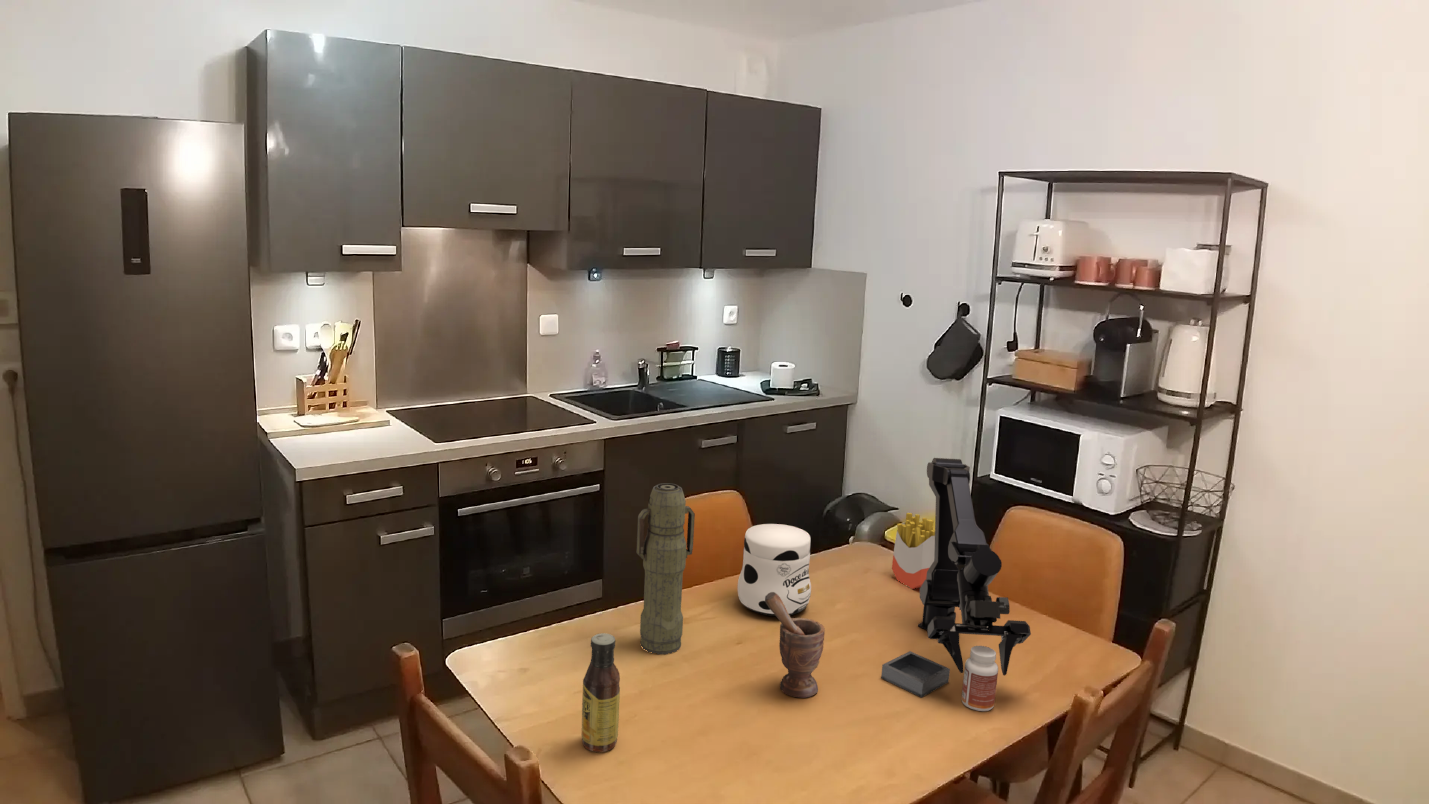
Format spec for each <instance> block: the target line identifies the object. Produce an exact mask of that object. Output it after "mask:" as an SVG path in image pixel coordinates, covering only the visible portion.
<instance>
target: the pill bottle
mask: <svg viewBox="0 0 1429 804" xmlns="http://www.w3.org/2000/svg"><path fill="white" fill-rule="evenodd" d="M996 659H997V652H996V651H995V649H993V648H991V647H989V646H984V645H973V646H971V648H970V654H969V657H968V658H967V659H966V660H965V662H964V669H963V681H962V689H961V690H962V692H961V702H962V704H963V705H964V706H965V707H967V708H969V709H971V710H973V711H978V712H988V711H990V710H992V709H993V708H994V706H995V700H996V693H997V685H998V684H997V683H998V675H999V665H998V664H997V663H996Z"/></svg>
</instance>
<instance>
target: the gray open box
mask: <svg viewBox="0 0 1429 804" xmlns="http://www.w3.org/2000/svg"><path fill="white" fill-rule="evenodd" d="M950 671H951V668H949V667H947V666H946V665H945V666H944V665H942V664H940V663H938V662H936V661H933V660H931V659H929V658H927V657H925V656H922V655H920V654H917V653H916V652H913V651H911V650H909V651H907V652H905V653H903V654H902V655H899V656H897V657H895V658H893V659H891V660H889V661H887V662H885V663H883V664H882V666H881V676H880V679H882V680H884V681H886V682H888V683H890V684H892V685H894V686H896V687H899V688H901V689H903V690H904V691H906V692H909V693H911V694H913V695H915V696H917V697H919V698H924V697H925V696H927V695H928V694H930V693H932V692H934V691H936V690H938V689H940V688H942V687H943V686H945V685H947V684H948V683H949V681H950V680H949V679H950Z"/></svg>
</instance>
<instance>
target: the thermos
mask: <svg viewBox="0 0 1429 804" xmlns="http://www.w3.org/2000/svg"><path fill="white" fill-rule="evenodd" d="M684 493H685V492H684V491H683V488H682V487H681V486H679V485H678V484H675V483H668V482H667V483H665V482H664V483H658V484H656V485H655V486H654V485H653V488H652V489H651V492H650V495H649V498H648V505H647V508H643V509H642V510H641V511H640V512H639V514H638V516H637V532H636V533H637V534H636V537H637V538H636V554H637V555H638V557H640V558H641V559H642V560H643V561H642V566H643V569H644V587H643V588H644V591H643V593H644V594H643V609H642V610H641V613H640V623H639V625H640V626H639V627H640V628H639V634H640V643H639V644H641V645H640V647H641V646H642V647H643V649H645V650H647V651H648V652H647V651H646V652H647V653H649V652H652V653H651V654H653V653H657V654H656V655H669V654H668V653H670V654H673V653H672V652H674V653H676V652H678V651H679V650H681V646H682V636H683V629H684V615H683V612H682V596H683V595H682V594H683V593H682V592H683V575H684V574H683V573H684V571H685V568H686V561H687V560H686V559H688V556H690V555H692V554H693V550H694V537H695V536H694V535H695V534H694V533H695V520H696V519H695V516H696V515H695V511H693V509H692V508H691V507H690V506H689V505H686V499H685V494H684ZM686 515H687V530H686V531H687V534H686V538H685V529H684V526H685V520H686ZM646 517H647V523H648V527H647V532H646V536H645V519H646ZM644 537H645V538H644ZM643 649H642V650H643ZM645 650H644V651H645ZM677 650H678V651H677Z"/></svg>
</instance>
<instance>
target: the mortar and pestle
mask: <svg viewBox="0 0 1429 804" xmlns="http://www.w3.org/2000/svg"><path fill="white" fill-rule="evenodd" d="M765 602H766V604H767V605H768V607H769V608H770V610H771V611H772V612H773V613H774V614H775V615H776V616H775V617H776V618H777V620H778V621H779V622H780V625H779V626H780V627H779V645H778V647H779V654H780V657H781V663H782V665H783V667H784V668H786V669H787V673H786V674H785V675H783V677H782V678H781V680H780V682H779V687H780V690H781V692H782V693H784V694H785V695H787V696H789V697H794V698H810V697H813V696H814V695H815V694H817V693H818V692H819V687H818V682H817V680H816V679H815V678H814V676H812V673H813V672H814V671H815V670H816V669H817V668H818V666H819V664H820V659H821V657H822V655H823V654H822V653H823V650H824V641H825V631H826V630H825V629H826V628H825V626H824V625H823V624H822V623H821V622H818V621H816V620H814V619H809V618H805V617H804V618H803V617H795V618H794V617H791V615H789V614H788V612H787V610H786V608H785V606H784V604H783V602H782V600H781V598H780V597H779V596H778V595H777V594H776V593H775V592H770V593H768V594H767V595H766V596H765Z"/></svg>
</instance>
